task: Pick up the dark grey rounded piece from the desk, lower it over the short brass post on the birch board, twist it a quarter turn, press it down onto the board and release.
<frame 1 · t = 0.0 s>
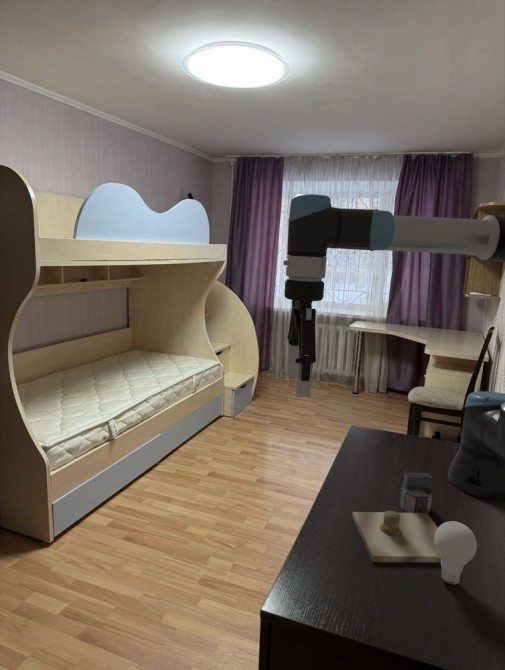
hand: (297, 385, 94), 28 cm above the table, fingers open, 13 cm apart
socket base: (401, 538, 92), on the table
dark grey rounded piece: (414, 507, 103), on the table
light bulb: (449, 583, 81), on the table
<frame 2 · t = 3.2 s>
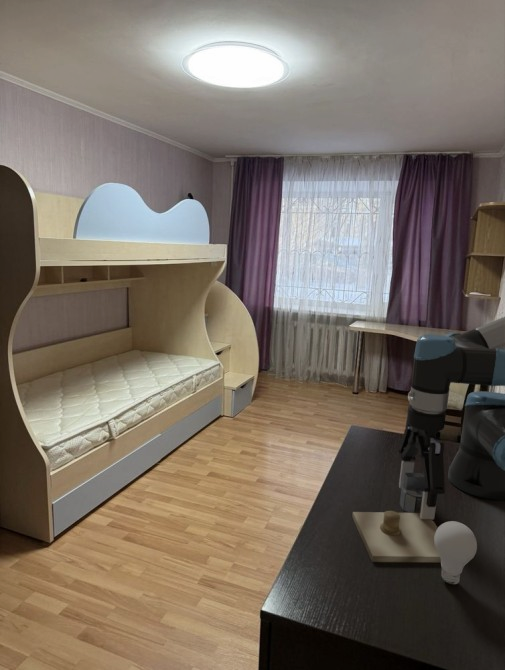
hand: (415, 502, 103), 1 cm above the table, fingers open, 12 cm apart
nothing on the table moved.
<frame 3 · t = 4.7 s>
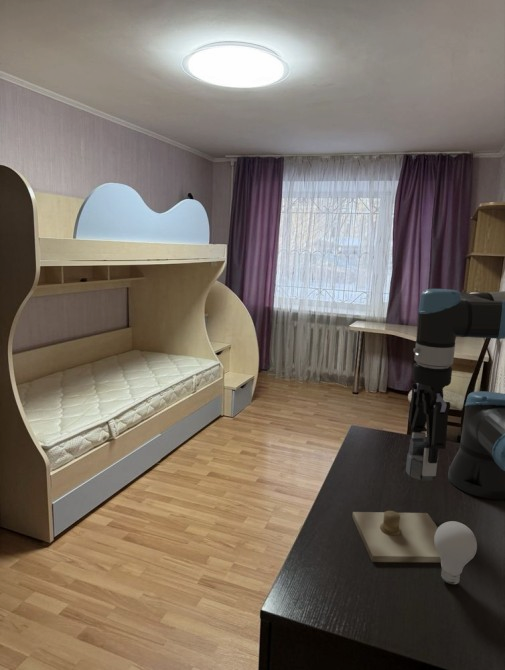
hand: (422, 467, 101), 10 cm above the table, fingers closed on dark grey rounded piece, 6 cm apart
dark grey rounded piece: (421, 473, 102), point 8 cm above the table, touching gripper
everything else where it was.
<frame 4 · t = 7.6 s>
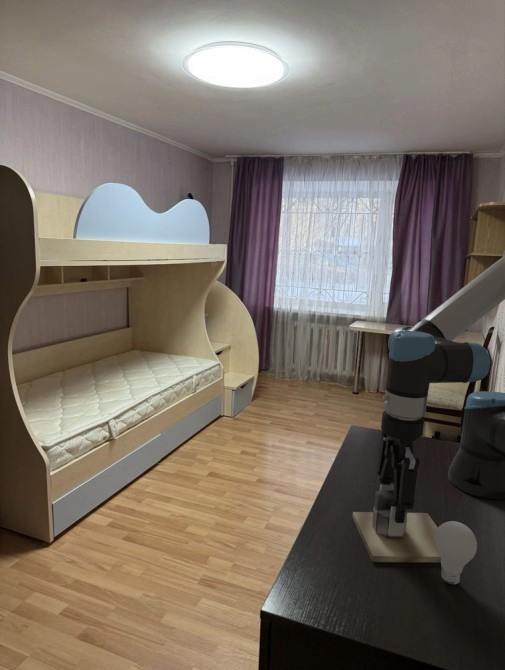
hand: (389, 524, 93), 2 cm above the table, fingers closed on dark grey rounded piece, 6 cm apart
dark grey rounded piece: (389, 528, 93), point 1 cm above the table, touching gripper, socket base
everything else where it was.
when the fingers open (2 cm above the table, at t = 9.4 s): dark grey rounded piece stays where it is, resting on socket base.
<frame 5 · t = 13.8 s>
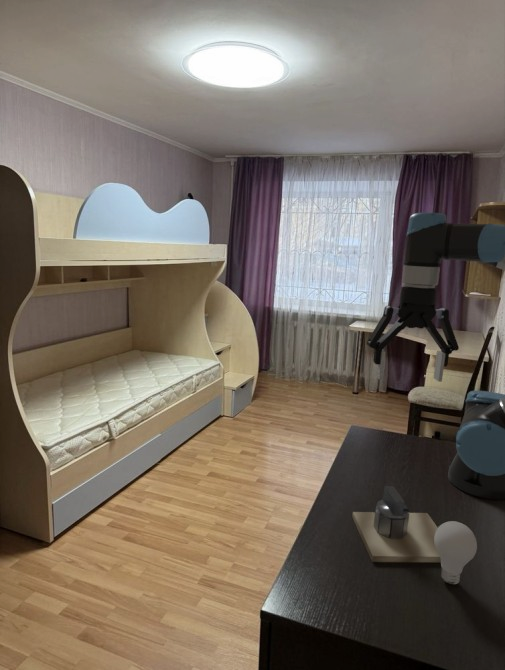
hand: (408, 379, 107), 27 cm above the table, fingers open, 13 cm apart
dark grey rounded piece: (390, 529, 93), point 1 cm above the table, touching socket base
everything else where it was.
at the end: dark grey rounded piece 0.1 cm from the target spot on the socket base, point 1.2 cm above the socket base's base; dark grey rounded piece tilted 0°; the gripper is holding nothing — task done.
